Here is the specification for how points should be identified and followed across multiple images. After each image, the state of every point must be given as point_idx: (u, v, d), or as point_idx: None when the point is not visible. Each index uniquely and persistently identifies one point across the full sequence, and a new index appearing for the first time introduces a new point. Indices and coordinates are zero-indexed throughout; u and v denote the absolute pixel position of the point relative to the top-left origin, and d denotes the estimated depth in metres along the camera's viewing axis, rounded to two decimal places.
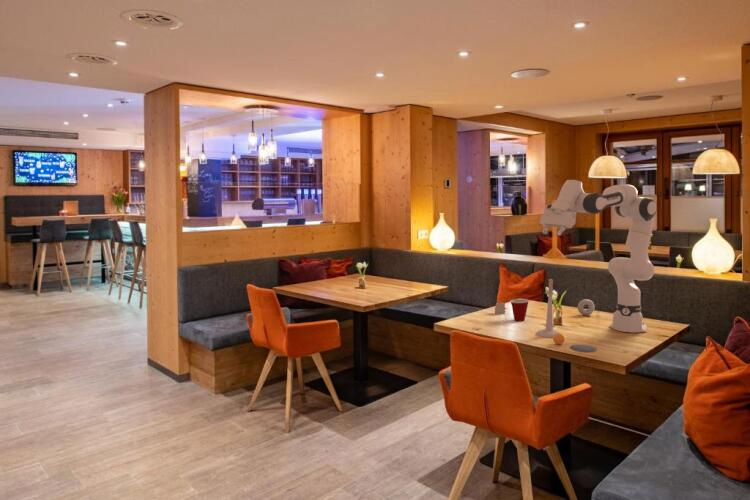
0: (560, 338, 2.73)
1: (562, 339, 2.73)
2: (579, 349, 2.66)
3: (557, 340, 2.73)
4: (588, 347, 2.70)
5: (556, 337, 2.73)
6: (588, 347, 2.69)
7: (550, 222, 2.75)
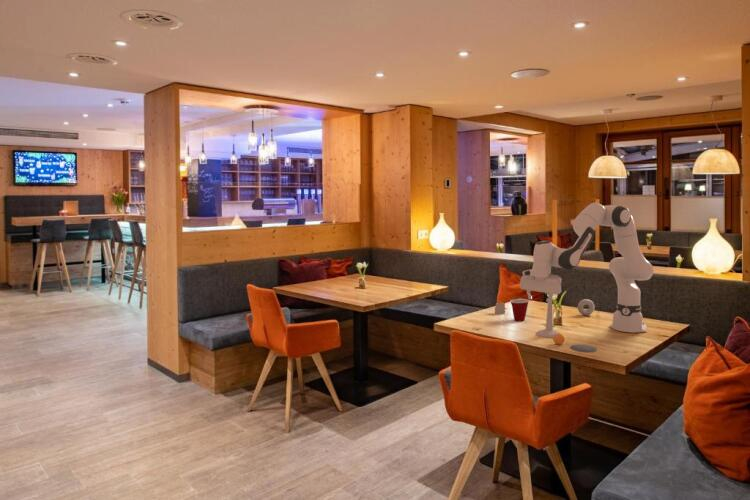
0: (560, 338, 2.73)
1: (562, 339, 2.73)
2: (579, 349, 2.66)
3: (557, 340, 2.73)
4: (588, 347, 2.70)
5: (556, 337, 2.73)
6: (588, 347, 2.69)
7: (535, 289, 2.78)
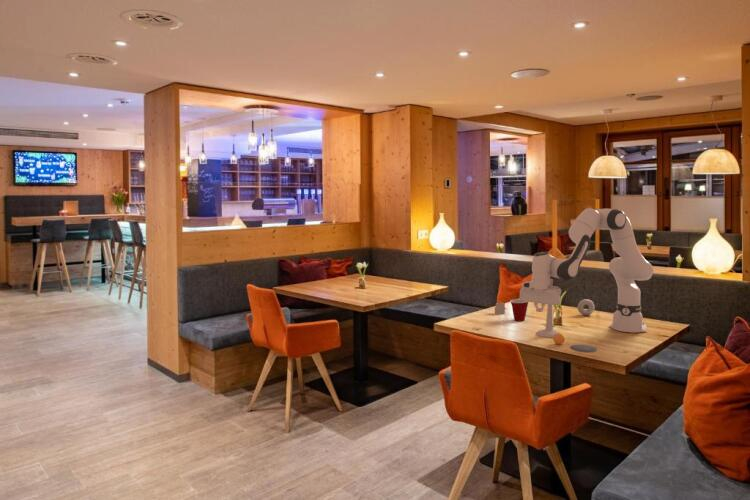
0: (560, 338, 2.73)
1: (562, 339, 2.73)
2: (579, 349, 2.66)
3: (557, 340, 2.73)
4: (588, 347, 2.70)
5: (556, 337, 2.73)
6: (588, 347, 2.69)
7: (534, 301, 2.79)
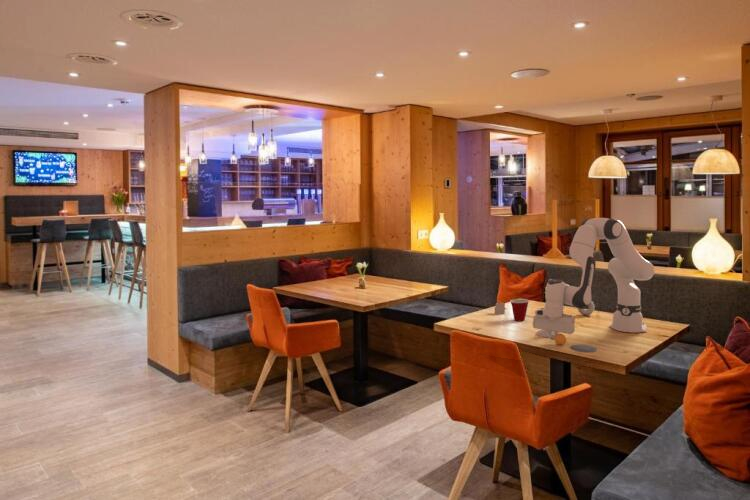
0: (562, 339, 2.72)
1: (564, 341, 2.72)
2: (579, 349, 2.66)
3: (559, 341, 2.72)
4: (588, 347, 2.70)
5: (558, 338, 2.73)
6: (588, 347, 2.69)
7: (548, 329, 2.76)
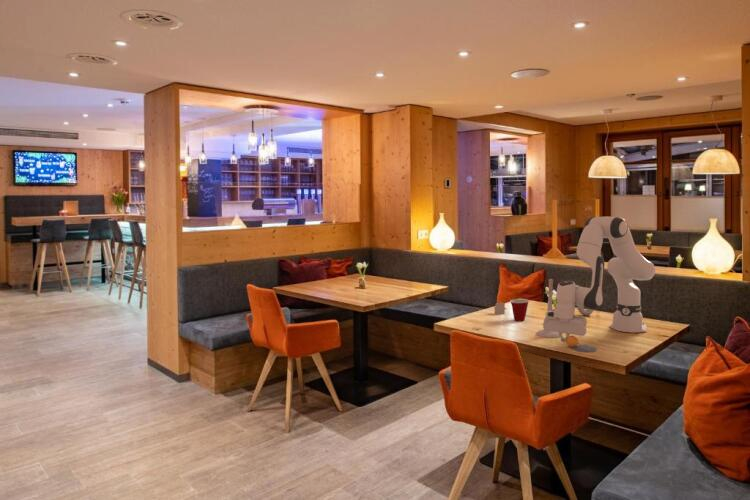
0: (571, 346, 2.70)
1: (570, 346, 2.71)
2: (579, 349, 2.66)
3: (569, 343, 2.69)
4: (588, 347, 2.70)
5: (573, 343, 2.68)
6: (588, 347, 2.69)
7: (559, 330, 2.73)
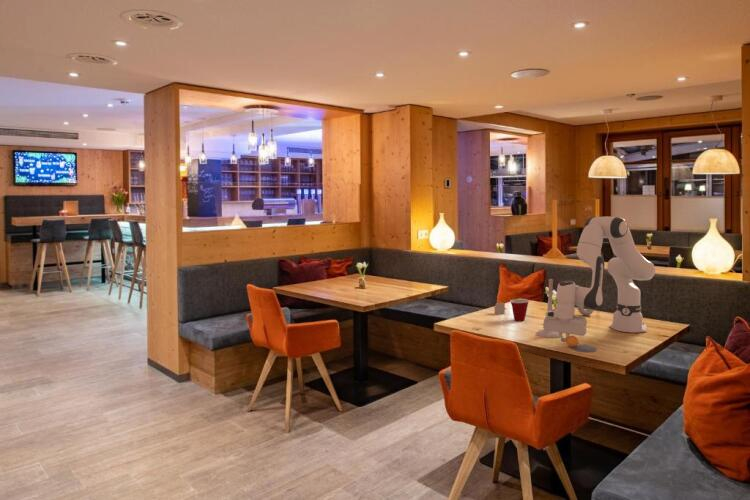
0: (571, 346, 2.70)
1: (570, 346, 2.71)
2: (579, 349, 2.66)
3: (569, 343, 2.69)
4: (588, 347, 2.70)
5: (573, 343, 2.68)
6: (588, 347, 2.69)
7: (559, 330, 2.73)
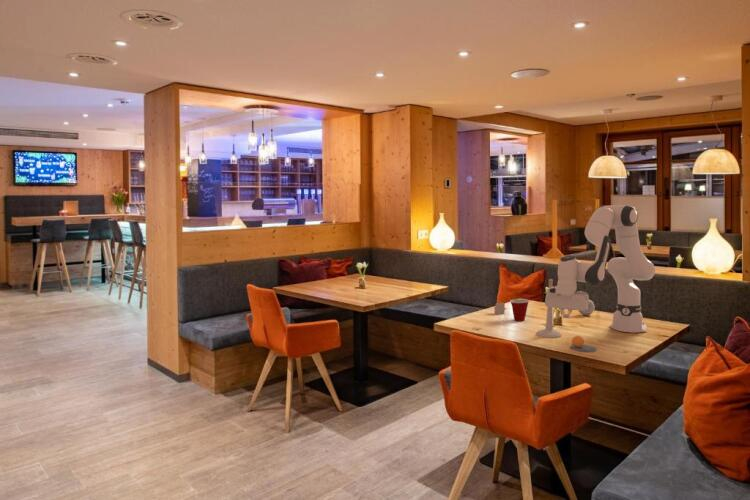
0: (574, 344, 2.69)
1: (572, 343, 2.70)
2: (579, 349, 2.66)
3: (575, 341, 2.68)
4: (588, 347, 2.70)
5: (577, 344, 2.68)
6: (588, 347, 2.69)
7: (561, 307, 2.71)
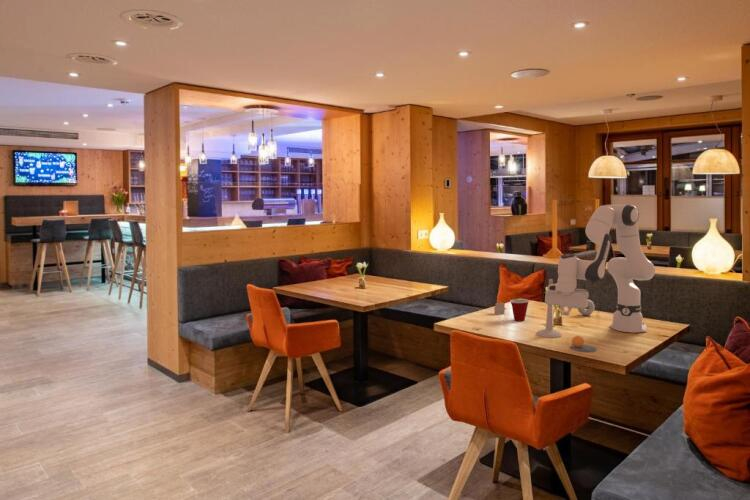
0: (574, 344, 2.69)
1: (572, 343, 2.70)
2: (579, 349, 2.66)
3: (575, 341, 2.68)
4: (588, 347, 2.70)
5: (577, 344, 2.68)
6: (588, 347, 2.69)
7: (561, 304, 2.71)
